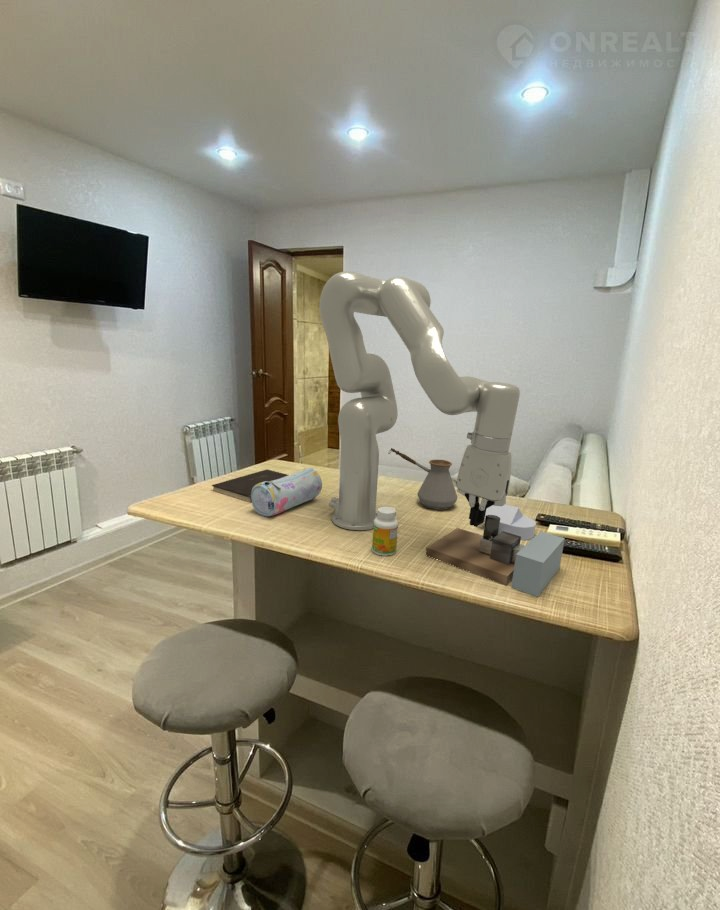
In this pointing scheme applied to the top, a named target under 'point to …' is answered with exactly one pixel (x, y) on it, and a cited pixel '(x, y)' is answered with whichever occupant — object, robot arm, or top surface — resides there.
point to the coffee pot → (435, 484)
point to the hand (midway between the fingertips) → (475, 524)
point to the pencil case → (286, 492)
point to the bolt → (492, 531)
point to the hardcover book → (246, 484)
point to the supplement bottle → (385, 532)
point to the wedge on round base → (513, 521)
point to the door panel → (477, 554)
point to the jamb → (537, 563)
